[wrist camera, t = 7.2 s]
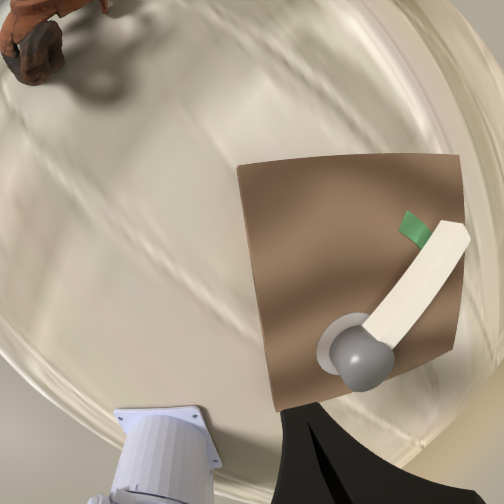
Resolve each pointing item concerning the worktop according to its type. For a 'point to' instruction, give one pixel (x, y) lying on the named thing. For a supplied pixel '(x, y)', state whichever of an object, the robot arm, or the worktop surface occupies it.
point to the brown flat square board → (344, 258)
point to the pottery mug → (36, 37)
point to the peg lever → (397, 311)
